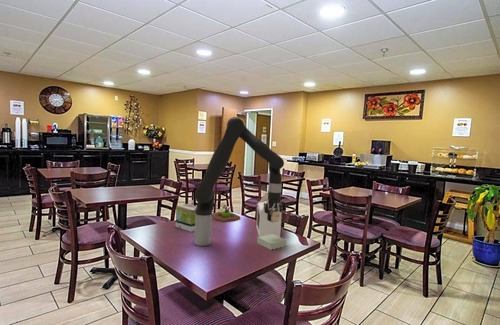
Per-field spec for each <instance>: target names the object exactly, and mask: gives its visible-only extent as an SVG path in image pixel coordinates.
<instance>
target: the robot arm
mask: <svg viewBox="0 0 500 325" xmlns="http://www.w3.org/2000/svg"><path fill="white" fill-rule="evenodd" d="M238 139H241V140H242V141H244V142H245V143H246V144H247V145H248V147H250V148H251V149H252V150H253V152H255V154H257V155H258V156H259V157H260V158H262V159H263V160H265V161H266V162H267V163H268V173H269V176H268V177H269V180H268V188H267V193H268V203H264V211H265V213H267V214H268V215H267V219H268V220H269V221H271V213H272V211H273V209H275V210H277V211H280V212H282V213H283V210H284V209H283V208H284V205H285V202H284V201H281V200H282V197H281V196H282V174H281V169H282V168H283V167H284V165H285V162H284V158H282V157H281V156H280V155H279V154H277V153H276V152H275V151H273V150H272V149H271V148H270V147H269V146H268V145H267V144H266V143H265V142H264V141H262V140H261V139H260V138H259V137H257V136H256V135H255V134H253V132H252V131H251V130H249V128H247V126H246V125H245V122H244V121H243V120H242V119H241V118H240V117H237V116H233V117H231V118H229V119H228V121H227V123H226V129H225V131H224V135H223V137H222V139H221V140H220V142H219V144H218V145H217V146H216V148H215V150H214V152H213V154H212V156H211V157H210V160H209V163H208V165H207V168H206V171H205V173H204V176H203V178H202V180H201V181H200V183H199V185H198V186H197V188H196V190H195V193H194V197H195V198H194V199H195V201H197V205H196V206H197V208H196V215H195V231H194V237H193V238H194V239H193V241H194V244H195V245H196V246H198V247H205V246H209V245H211V242H212V240H211V239H212V221H213V218H212V215H213V208H214V202H215V201H214V198H215V191H214V188H215V186H216V182H217V181H218V180H219V178H220V177H221V175H222V174H223V172H224V171H225V169H226V167H227V165H228V163H229V160H230V159H231V156H232V153H233V151H234V147H235V145H236V143H237V142H238ZM268 205H269V206H268ZM270 208H271V209H270ZM269 211H270V212H269Z"/></svg>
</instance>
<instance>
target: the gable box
mask: <svg viewBox="0 0 500 325" xmlns="http://www.w3.org/2000/svg"><path fill="white" fill-rule="evenodd" d="M264 203H268V192H267V193H265V194H263V196H262V198H260V200H259V201H258V202H257V207H256V208H257V212H256V226H255V227H256V230H257V234H258V237H260V236H265V235H270V234H274V235H276V236H279V237H281V228H282V214H283V211H282V212H280V215H279V222H273V223H272V222H270V221H267V213H265V211H264ZM268 206H269V205H268ZM270 209H271V208H270ZM274 210H275V209H274Z"/></svg>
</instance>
